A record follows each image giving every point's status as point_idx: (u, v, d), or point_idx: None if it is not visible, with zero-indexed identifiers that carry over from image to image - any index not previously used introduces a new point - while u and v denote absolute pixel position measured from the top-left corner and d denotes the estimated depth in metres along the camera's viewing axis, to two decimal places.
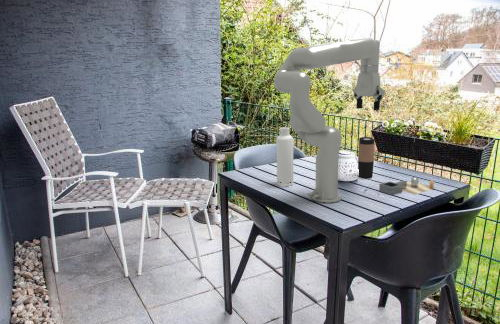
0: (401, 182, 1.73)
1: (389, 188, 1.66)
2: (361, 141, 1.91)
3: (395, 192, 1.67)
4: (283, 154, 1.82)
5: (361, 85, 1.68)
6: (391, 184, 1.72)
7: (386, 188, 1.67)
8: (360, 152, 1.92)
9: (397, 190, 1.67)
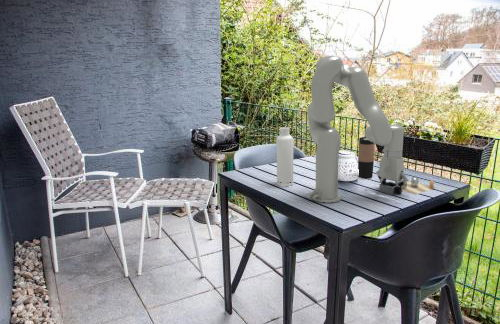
0: None
1: (389, 188, 1.66)
2: (361, 141, 1.91)
3: None
4: (283, 154, 1.82)
5: (384, 168, 1.68)
6: (391, 184, 1.72)
7: (387, 188, 1.67)
8: (360, 152, 1.92)
9: None
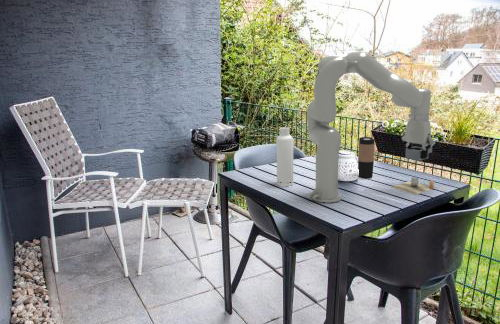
0: None
1: (416, 151, 1.68)
2: (361, 141, 1.91)
3: None
4: (283, 154, 1.82)
5: (411, 132, 1.69)
6: (417, 149, 1.74)
7: (413, 152, 1.69)
8: (360, 152, 1.92)
9: None
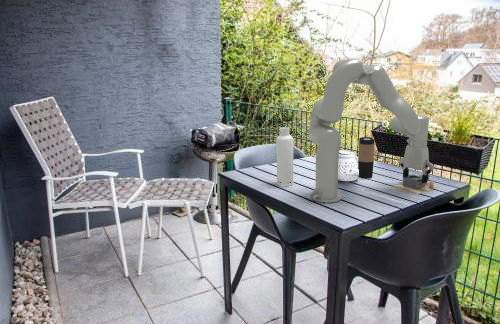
0: None
1: (413, 181, 1.71)
2: (361, 141, 1.91)
3: (419, 184, 1.72)
4: (283, 154, 1.82)
5: (409, 158, 1.72)
6: None
7: (410, 181, 1.73)
8: (360, 152, 1.92)
9: (421, 183, 1.72)
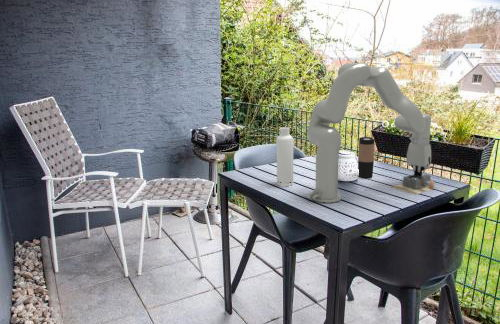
0: (425, 175, 1.78)
1: (413, 180, 1.72)
2: (361, 141, 1.91)
3: (419, 184, 1.72)
4: (283, 154, 1.82)
5: (412, 155, 1.78)
6: None
7: (410, 181, 1.73)
8: (360, 152, 1.92)
9: (421, 183, 1.72)
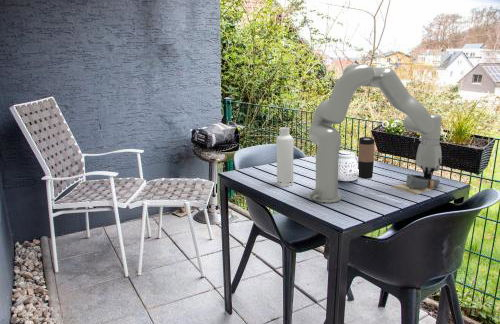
0: (433, 179, 1.73)
1: (410, 178, 1.72)
2: (361, 141, 1.91)
3: (416, 184, 1.71)
4: (283, 154, 1.82)
5: (422, 156, 1.74)
6: (421, 178, 1.75)
7: (409, 178, 1.74)
8: (360, 152, 1.92)
9: (419, 183, 1.71)
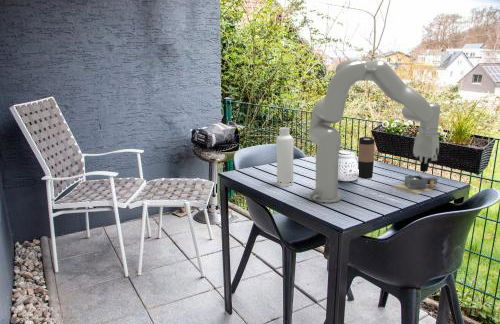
0: (431, 178, 1.74)
1: (409, 180, 1.72)
2: (361, 141, 1.91)
3: (415, 185, 1.71)
4: (283, 154, 1.82)
5: (419, 146, 1.73)
6: (419, 178, 1.76)
7: (408, 180, 1.74)
8: (360, 152, 1.92)
9: (418, 183, 1.71)
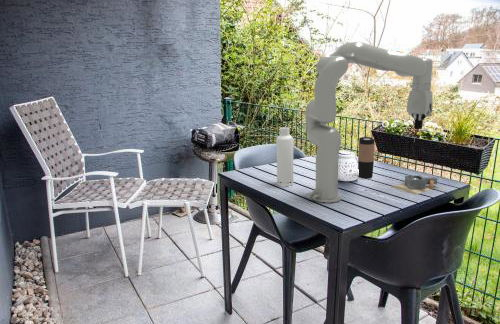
0: (431, 178, 1.74)
1: (409, 180, 1.72)
2: (361, 141, 1.91)
3: (415, 185, 1.71)
4: (283, 154, 1.82)
5: (413, 102, 1.71)
6: (419, 178, 1.76)
7: (408, 180, 1.74)
8: (360, 152, 1.92)
9: (418, 183, 1.71)
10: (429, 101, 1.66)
